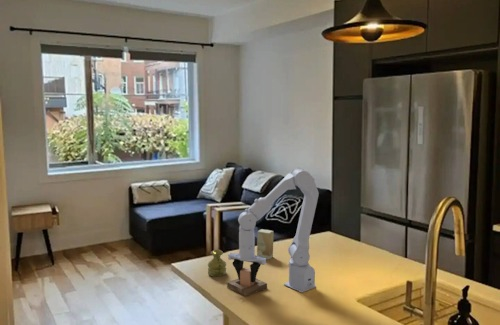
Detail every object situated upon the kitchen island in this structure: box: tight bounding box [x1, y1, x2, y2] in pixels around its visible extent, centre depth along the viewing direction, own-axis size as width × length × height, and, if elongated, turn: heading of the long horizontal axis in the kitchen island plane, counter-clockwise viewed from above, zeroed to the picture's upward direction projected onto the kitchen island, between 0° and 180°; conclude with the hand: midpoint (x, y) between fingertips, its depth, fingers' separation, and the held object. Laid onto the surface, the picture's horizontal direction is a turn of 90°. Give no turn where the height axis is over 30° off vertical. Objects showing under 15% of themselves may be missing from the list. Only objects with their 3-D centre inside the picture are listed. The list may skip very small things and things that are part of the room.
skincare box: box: [256, 228, 275, 260], centre depth 197 cm, size 6×4×12 cm
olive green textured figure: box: [207, 248, 227, 278], centre depth 178 cm, size 7×7×10 cm
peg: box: [240, 266, 254, 287], centre depth 164 cm, size 4×4×7 cm
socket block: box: [226, 278, 268, 297], centre depth 164 cm, size 10×10×2 cm
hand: (247, 280), depth 164 cm, fingers open, 5 cm apart
